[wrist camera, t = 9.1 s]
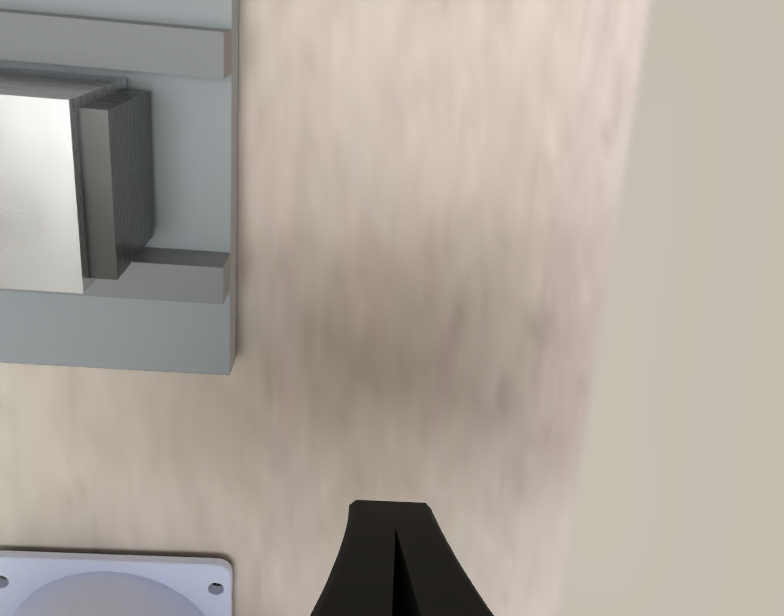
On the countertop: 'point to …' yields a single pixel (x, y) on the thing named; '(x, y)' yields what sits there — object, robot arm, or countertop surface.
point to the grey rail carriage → (71, 179)
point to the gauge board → (169, 186)
